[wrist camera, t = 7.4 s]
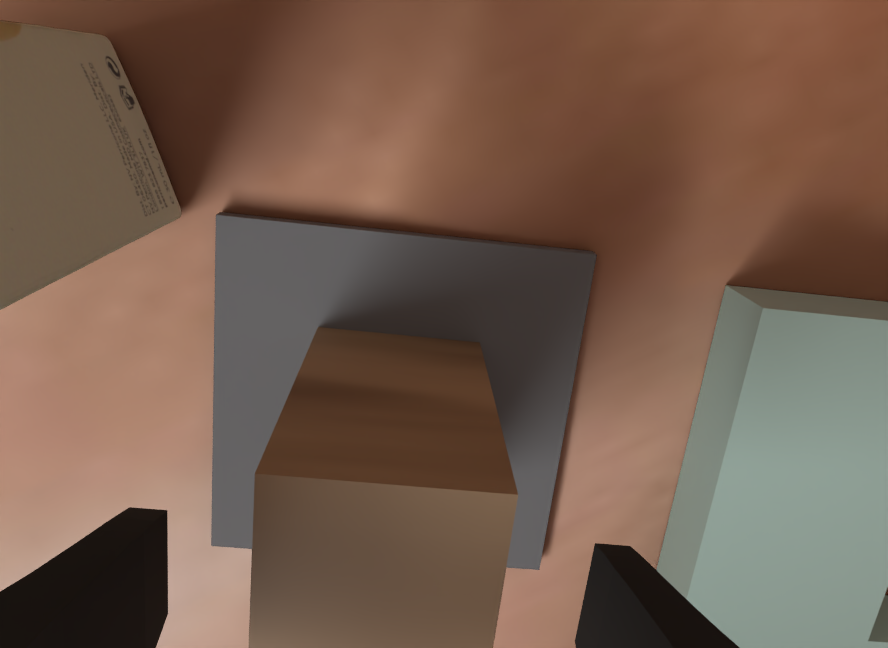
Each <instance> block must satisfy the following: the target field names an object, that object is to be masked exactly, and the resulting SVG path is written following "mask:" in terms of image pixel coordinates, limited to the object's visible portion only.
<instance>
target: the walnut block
mask: <svg viewBox="0 0 888 648" xmlns="http://www.w3.org/2000/svg"><path fill="white" fill-rule="evenodd" d="M517 500H518V492H517V488H516V484H515V480H514V476H513V472H512V468H511V464H510V460H509V456H508V452H507V448H506V444H505V440H504V436H503V432H502V428H501V424H500V420H499V416H498V412H497V408H496V404H495V400H494V396H493V393H492V389H491V385H490V381H489V377H488V373H487V369H486V365H485V361H484V357H483V353H482V349H481V345H480V342H470V341H460V340H449V339H439V338H428V337H418V336H407V335H397V334H386V333H376V332H365V331H355V330H344V329H334V328H323V327H318V328H317V330H316V333H315V335H314V337H313V340H312V342H311V344H310V347H309V349H308V351H307V354H306V356H305V358H304V360H303V363H302V365H301V367H300V370H299V372H298V374H297V377H296V379H295V381H294V384H293V386H292V388H291V391H290V393H289V395H288V398H287V400H286V402H285V405H284V407H283V409H282V412H281V414H280V416H279V418H278V421H277V423H276V425H275V428H274V430H273V432H272V435H271V437H270V439H269V442H268V444H267V446H266V449H265V451H264V453H263V456H262V458H261V460H260V463H259V465H258V467H257V470H256V472H255V481H254V509H253V538H252V567H251V596H250V625H249V648H493V644H494V638H495V632H496V626H497V620H498V614H499V608H500V602H501V596H502V590H503V584H504V578H505V572H506V566H507V560H508V554H509V548H510V542H511V536H512V530H513V524H514V518H515V512H516V506H517Z"/></svg>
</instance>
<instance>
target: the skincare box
mask: <svg viewBox="0 0 888 648" xmlns="http://www.w3.org/2000/svg"><path fill="white" fill-rule="evenodd" d="M180 216H181V209H180V205H179V203H178V200H177V198H176V196H175V193H174V191H173V188H172V185H171V183H170V180H169V177H168V175H167V172H166V169H165V167H164V164H163V162H162V159H161V157H160V154H159V152H158V149H157V147H156V144H155V142H154V139H153V137H152V134H151V132H150V130H149V127H148V124H147V122H146V120H145V117H144V115H143V112H142V110H141V108H140V105H139V103H138V101H137V98H136V96H135V94H134V92H133V89H132V87H131V85H130V83H129V81H128V78H127V76H126V74H125V72H124V70H123V68H122V65H121V63H120V61H119V59H118V57H117V54H116V52H115V50H114V48H113V46H112V44H111V42H110V41H109V39H108V38H107V37H106V36H103V35H100V34H94V33H86V32H79V31H73V30H67V29H58V28H52V27H47V26H39V25H32V24H24V23H17V22H10V21H3V20H0V310H1V309H3V308H5V307H7V306H9V305H11V304H12V303H14V302H16V301H18V300H20V299H22V298H24V297H26V296H28V295H30V294H32V293H34V292H36V291H38V290H40V289H42V288H44V287H45V286H47V285H49V284H51V283H53V282H55V281H57V280H59V279H61V278H63V277H65V276H67V275H69V274H71V273H73V272H75V271H77V270H79V269H81V268H83V267H85V266H87V265H88V264H90V263H92V262H94V261H96V260H98V259H100V258H102V257H103V256H105V255H107V254H109V253H111V252H113V251H115V250H117V249H119V248H121V247H123V246H125V245H127V244H129V243H131V242H133V241H135V240H137V239H139V238H141V237H143V236H145V235H147V234H149V233H151V232H153V231H154V230H156V229H158V228H160V227H162V226H164V225H166V224H168V223H170V222H172V221H174V220H176V219H178V218H180Z"/></svg>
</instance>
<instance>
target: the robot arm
mask: <svg viewBox="0 0 888 648" xmlns="http://www.w3.org/2000/svg"><path fill="white" fill-rule="evenodd" d="M167 615H168V556H167V510H155V509H142V508H128V509H126V510H125V511H123V512H122V513H120V514H118V515H117V516H115V517H114V518H112V519H111V520H109V521H108V522H106V523H105V524H103V525H102V526H100V527H99V528H97V529H96V530H95V531H93V532H92V533H90V534H89V535H87V536H86V537H84V538H83V539H81V540H80V541H78V542H77V543H75V544H74V545H72V546H71V547H69V548H68V549H66V550H65V551H63V552H62V553H60V554H59V555H57V556H56V557H54V558H53V559H51V560H50V561H48V562H47V563H45V564H44V565H42V566H41V567H39V568H38V569H36V570H35V571H33V572H32V573H30V574H29V575H27V576H25V577H24V578H22V579H20V580H19V581H17V582H15V583H14V584H12V585H10V586H9V587H7V588H5V589H4V590H2V591H1V592H0V648H156V645H157V643H158V640H159V637H160V634H161V631H162V629H163V626H164V623H165V620H166V617H167ZM575 644H576V648H740V647H738V646H737V645H736V644H735V643H734V642H733V641H732V640H730V639H729V638H728V637H727V636H726V635H725V634H724V633H723V632H721V631H720V630H719V629H718V628H717V627H716V626H715V625H714V624H713V623H711V622H710V621H709V620H708V619H707V618H706V617H705V616H704V615H703V614H702V613H701V612H699V611H698V610H697V609H696V608H695V607H694V606H693V605H692V604H691V603H690V602H689V601H688V600H687V599H686V598H685V597H684V596H683V595H681V594H680V593H679V592H678V591H677V590H676V589H675V588H674V587H673V586H672V585H671V584H670V583H669V582H668V581H667V580H666V579H665V578H664V577H663V576H662V575H661V574H660V573H659V572H658V571H657V570H655V569H654V568H653V567H652V566H651V565H650V564H649V563H648V562H647V561H646V560H645V559H644V558H643V557H642V556H641V555H640V554H638V553H637V552H636V551H635V550H634V549H633V548H632V547H630V546H622V545H609V544H596V543H595V546H594V551H593V556H592V561H591V566H590V571H589V576H588V581H587V585H586V590H585V595H584V600H583V605H582V610H581V615H580V619H579V624H578V629H577V634H576V639H575Z"/></svg>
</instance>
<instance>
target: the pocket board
mask: <svg viewBox="0 0 888 648" xmlns="http://www.w3.org/2000/svg"><path fill="white" fill-rule="evenodd" d="M657 571H658V572H659V573H660V574H661V575H662V576H663V577H664V578H665V579H666V580H667V581H668V582H669V583H670V584H671V585H672V586H673V587H674V588H675V589H676V590H677V591H678V592H679V593H680V594H681V595H683V596H684V597H685V598H686V599H687V600H688V601H689V602H690V603H691V604H692V605H693V606H694V607H695V608H696V609H697V610H698V611H699V612H701V613H702V614H703V615H704V616H705V617H706V618H707V619H708V620H709V621H710V622H711V623H713V624H714V625H715V626H716V627H717V628H718V629H719V630H720V631H721V632H723V633H724V634H725V635H726V636H727V637H728V638H729V639H730V640H732V641H733V642H734V643H735V644H736V645H737V646H738V647H740V648H888V595H885V593H886V590H887V587H888V302H884V301H874V300H865V299H855V298H845V297H836V296H826V295H816V294H807V293H797V292H787V291H778V290H768V289H758V288H749V287H739V286H729V285H726V286H725V290H724V294H723V299H722V303H721V307H720V311H719V315H718V319H717V323H716V327H715V331H714V336H713V340H712V344H711V348H710V352H709V356H708V360H707V364H706V368H705V373H704V377H703V381H702V385H701V389H700V393H699V397H698V401H697V405H696V410H695V414H694V418H693V422H692V426H691V430H690V434H689V438H688V442H687V447H686V451H685V455H684V459H683V463H682V467H681V471H680V475H679V479H678V484H677V488H676V492H675V496H674V500H673V504H672V508H671V512H670V516H669V521H668V525H667V529H666V533H665V537H664V541H663V545H662V549H661V553H660V558H659V562H658V566H657Z"/></svg>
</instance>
